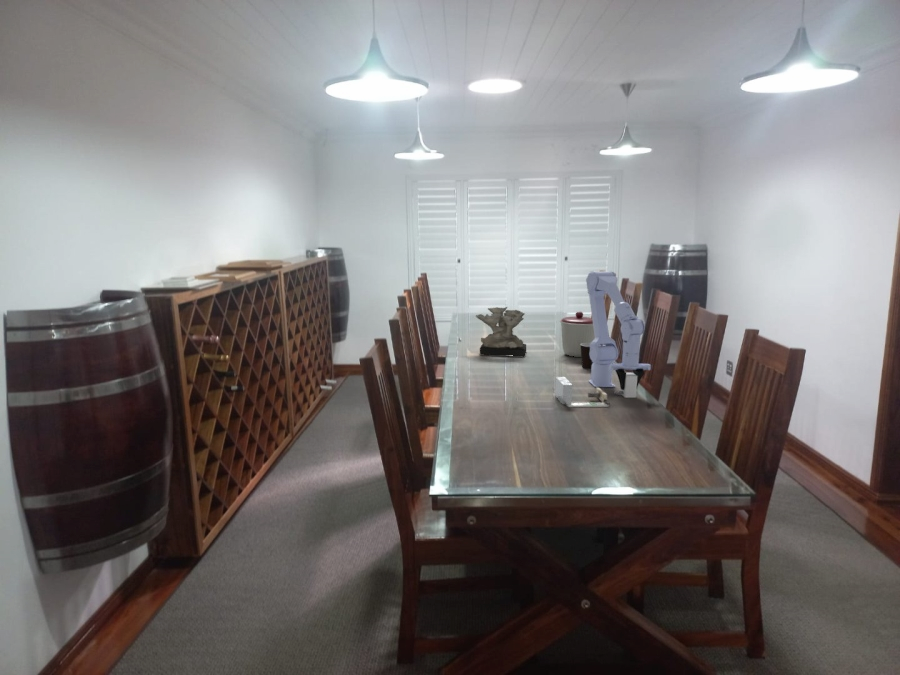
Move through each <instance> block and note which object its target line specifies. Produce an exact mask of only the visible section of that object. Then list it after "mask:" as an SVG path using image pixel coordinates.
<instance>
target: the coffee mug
mask: <svg viewBox="0 0 900 675" xmlns="http://www.w3.org/2000/svg"><path fill="white" fill-rule="evenodd" d="M580 346H581V357H580V360H581V368H583V369H587V370H591V366H592V364H593V362H592V360H591V358H590V355H589V352H590V343H582V344H580ZM599 346H602V345H599Z"/></svg>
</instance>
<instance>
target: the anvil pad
mask: <svg viewBox="0 0 900 675" xmlns="http://www.w3.org/2000/svg"><path fill="white" fill-rule="evenodd" d="M587 397H588V398H597V399H598V400H599V401H600V402H601V403H605V402H606V403H607V404H609V405H611V403H610V401H608V394H607V393H606V392H605V391H604V390H602V389H601V387H595V392H588V393H587Z"/></svg>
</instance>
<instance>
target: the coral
mask: <svg viewBox="0 0 900 675" xmlns="http://www.w3.org/2000/svg"><path fill="white" fill-rule="evenodd" d="M487 310H488V311H489V312H491V315H489V314H488V313H486V315H484V314H482V313H481V314H480V313H479V314H476V315H475V317H476V318H477V319H478V320H479V321H481V322H483V323H484V324H485V325H487V326H488V327H490V328H491V331H492V333H489V334H488V335H486V337H481V338H480V342H481V343H482V344H481V346H480V347H479V355H480V354H484V355H483V356H489V355H513V356H525V357H526V354H527V344H526V343H524V340H522V339H520V338H519V337H518V336H517V335H516V334H514V331H513V330H514V329H515V327H517V326H518V325H519V324H521V322H523V320H525V319H524V315H526V313H525V312H523V311H520V310H519V309H514V310H513V309H512V310H511V309H508V306H505V307H490V308H487ZM497 325H498V326H497ZM525 353H526V354H525Z"/></svg>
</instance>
